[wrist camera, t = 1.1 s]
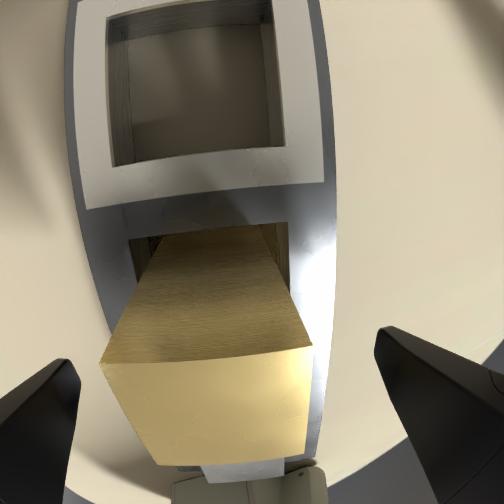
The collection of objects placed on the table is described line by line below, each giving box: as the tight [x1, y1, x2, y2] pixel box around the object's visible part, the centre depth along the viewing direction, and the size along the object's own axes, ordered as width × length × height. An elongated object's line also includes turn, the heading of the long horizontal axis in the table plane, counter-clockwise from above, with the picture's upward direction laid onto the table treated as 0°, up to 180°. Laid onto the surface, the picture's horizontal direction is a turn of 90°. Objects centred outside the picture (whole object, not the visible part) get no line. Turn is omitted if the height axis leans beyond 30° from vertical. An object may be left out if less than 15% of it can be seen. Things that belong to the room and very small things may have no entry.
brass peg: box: [99, 225, 313, 466], centre depth 9 cm, size 4×4×8 cm
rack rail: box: [64, 0, 337, 471], centre depth 12 cm, size 9×26×3 cm, turn 4°
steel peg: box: [200, 457, 284, 483], centre depth 14 cm, size 4×4×5 cm
